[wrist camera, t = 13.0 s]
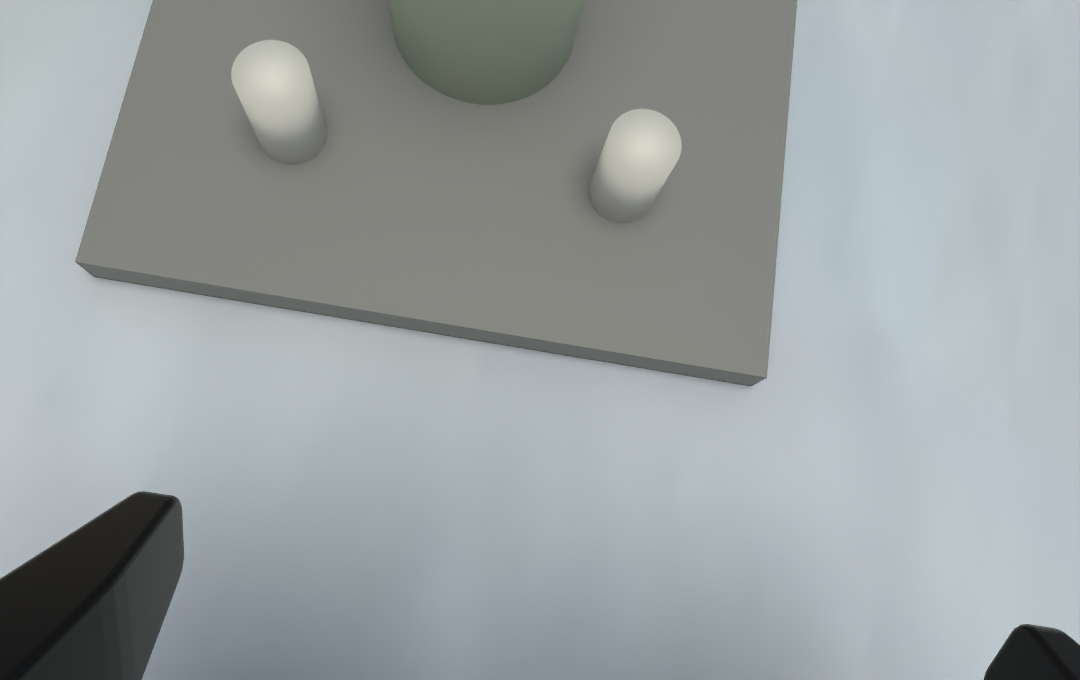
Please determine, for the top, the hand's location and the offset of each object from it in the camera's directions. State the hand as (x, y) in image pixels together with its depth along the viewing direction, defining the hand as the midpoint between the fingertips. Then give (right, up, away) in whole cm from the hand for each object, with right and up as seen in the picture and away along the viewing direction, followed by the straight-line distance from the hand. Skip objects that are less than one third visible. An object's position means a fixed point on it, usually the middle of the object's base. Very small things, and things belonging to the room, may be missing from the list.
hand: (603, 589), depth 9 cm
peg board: (-2, +11, +17) cm, 20 cm away
